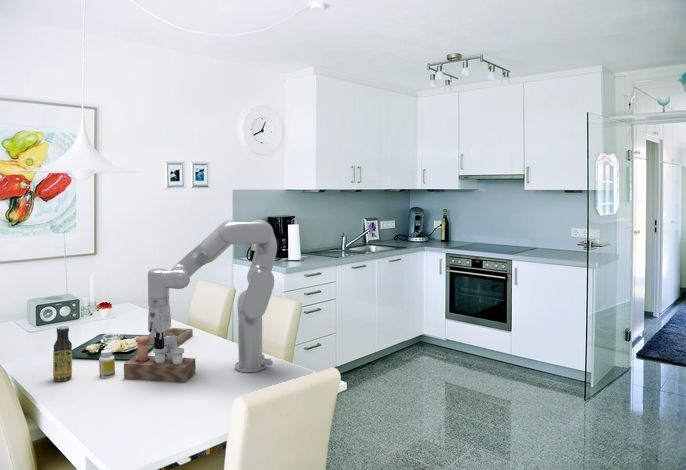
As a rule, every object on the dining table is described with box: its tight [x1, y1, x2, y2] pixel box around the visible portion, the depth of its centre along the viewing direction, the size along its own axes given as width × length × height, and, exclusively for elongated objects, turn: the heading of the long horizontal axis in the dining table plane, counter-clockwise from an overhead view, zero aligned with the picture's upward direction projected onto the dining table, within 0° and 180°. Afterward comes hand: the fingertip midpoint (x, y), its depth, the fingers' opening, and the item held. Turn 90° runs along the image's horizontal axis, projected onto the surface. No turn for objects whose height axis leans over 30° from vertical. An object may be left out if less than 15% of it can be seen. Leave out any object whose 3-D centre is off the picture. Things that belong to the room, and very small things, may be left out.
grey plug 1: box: [152, 347, 167, 363], centre depth 200 cm, size 5×5×10 cm
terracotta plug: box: [135, 335, 149, 362], centre depth 201 cm, size 5×5×10 cm
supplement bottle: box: [98, 348, 116, 379], centre depth 200 cm, size 5×5×10 cm
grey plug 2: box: [171, 347, 185, 364], centre depth 200 cm, size 5×5×10 cm
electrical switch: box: [164, 336, 179, 357], centre depth 221 cm, size 9×5×9 cm, turn 141°
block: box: [123, 354, 197, 384], centre depth 201 cm, size 24×10×6 cm, turn 83°
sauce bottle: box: [52, 325, 73, 383], centre depth 195 cm, size 7×6×20 cm
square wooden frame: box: [146, 327, 194, 347], centre depth 245 cm, size 16×16×4 cm
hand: (159, 348), depth 200 cm, fingers closed
